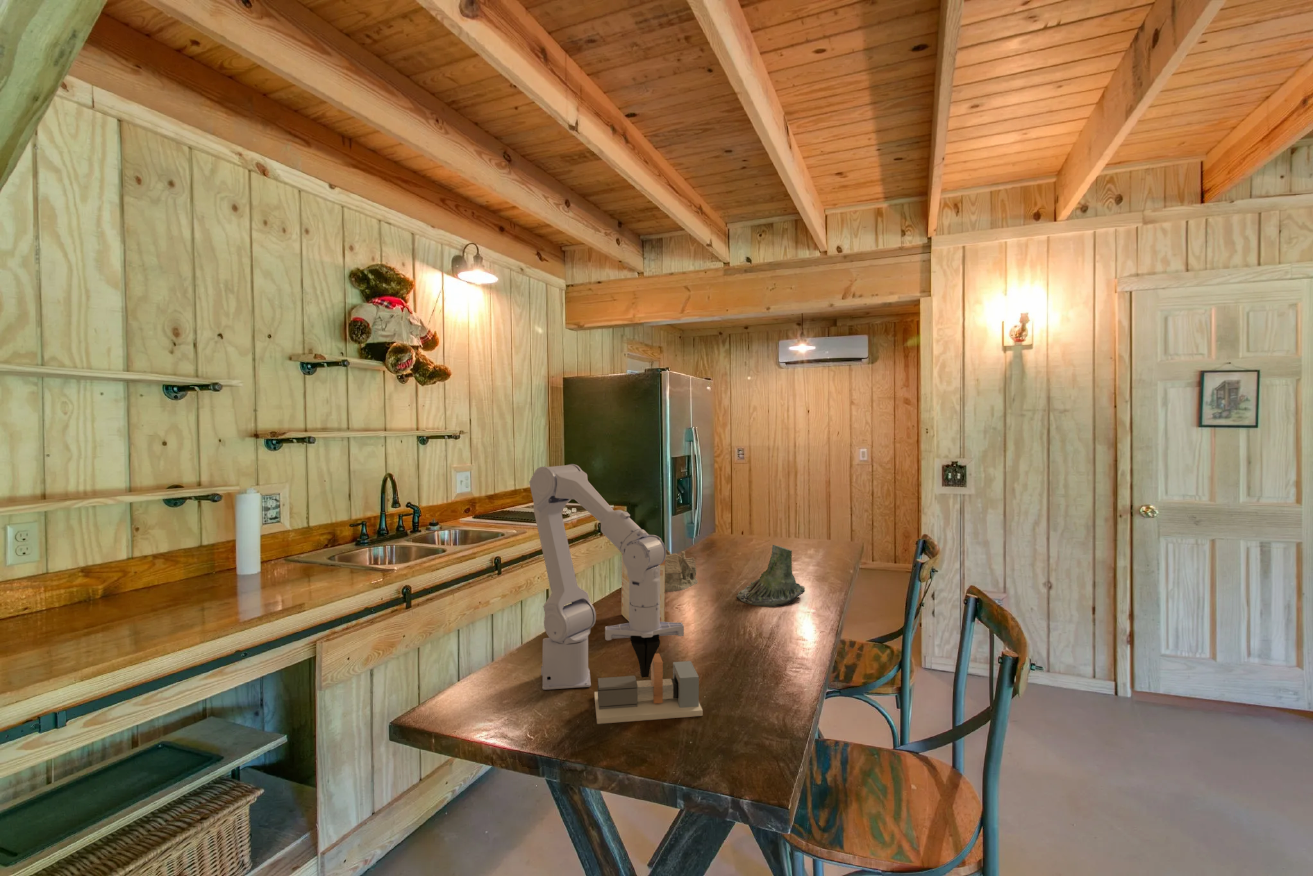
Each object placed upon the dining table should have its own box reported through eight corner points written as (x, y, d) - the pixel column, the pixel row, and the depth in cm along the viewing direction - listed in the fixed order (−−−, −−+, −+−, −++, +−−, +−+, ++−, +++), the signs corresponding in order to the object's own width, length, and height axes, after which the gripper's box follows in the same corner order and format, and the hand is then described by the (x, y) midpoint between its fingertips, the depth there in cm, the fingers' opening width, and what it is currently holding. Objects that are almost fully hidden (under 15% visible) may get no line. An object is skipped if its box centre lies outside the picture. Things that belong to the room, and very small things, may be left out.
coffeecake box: (665, 629, 148) (665, 553, 148) (639, 633, 146) (639, 555, 145) (644, 611, 162) (645, 541, 162) (620, 614, 160) (620, 543, 159)
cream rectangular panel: (597, 723, 102) (597, 695, 102) (594, 697, 112) (594, 671, 112) (702, 715, 105) (702, 688, 105) (691, 690, 115) (691, 665, 115)
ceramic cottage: (653, 591, 180) (656, 543, 181) (648, 579, 197) (651, 534, 197) (703, 593, 182) (706, 545, 182) (694, 581, 198) (696, 537, 199)
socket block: (679, 707, 106) (680, 678, 106) (672, 690, 113) (673, 662, 113) (698, 706, 107) (698, 676, 106) (690, 688, 114) (690, 661, 113)
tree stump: (725, 592, 182) (737, 535, 183) (781, 602, 187) (793, 547, 189) (750, 607, 164) (764, 545, 166) (812, 618, 170) (824, 557, 171)
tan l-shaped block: (617, 706, 106) (617, 664, 106) (615, 695, 110) (615, 656, 110) (679, 701, 108) (679, 661, 107) (675, 691, 112) (675, 652, 111)
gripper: (606, 611, 103) (606, 687, 103) (687, 607, 105) (687, 681, 106) (604, 599, 110) (604, 670, 110) (679, 595, 112) (679, 665, 113)
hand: (644, 675), depth 108 cm, fingers closed
